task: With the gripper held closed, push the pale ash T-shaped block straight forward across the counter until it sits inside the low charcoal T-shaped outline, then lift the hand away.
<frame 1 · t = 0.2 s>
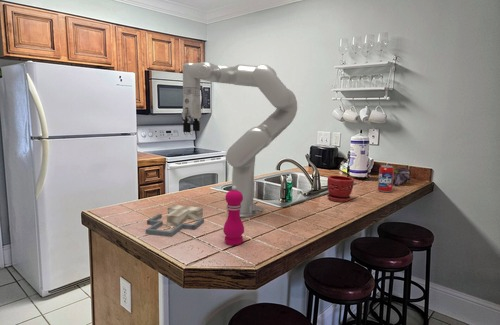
hand: (191, 131, 147), 36 cm above the countertop, tool pointing down, fingers open, 9 cm apart
pepper mill: (233, 242, 115), on the countertop
plant pot: (339, 200, 173), on the countertop
soda can: (384, 191, 193), on the countertop
t block: (185, 216, 141), on the countertop
dock: (170, 226, 128), on the countertop
decorative flower: (397, 184, 213), on the countertop
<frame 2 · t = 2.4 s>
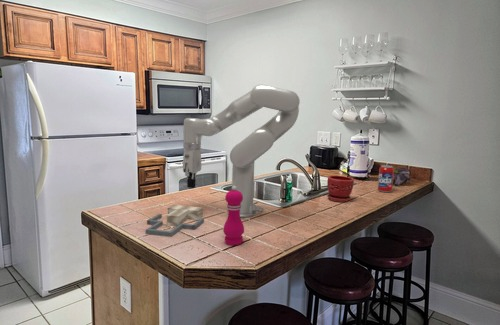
hand: (191, 187, 147), 11 cm above the countertop, tool pointing down, fingers closed
nothing on the countertop moved.
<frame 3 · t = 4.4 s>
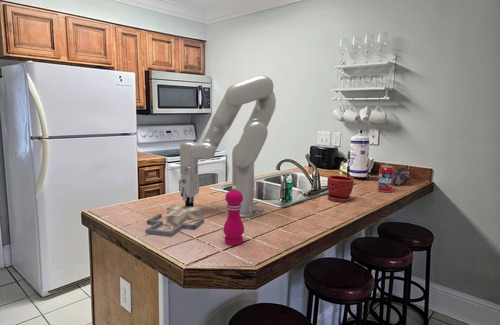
hand: (189, 211, 145), 1 cm above the countertop, tool pointing down, fingers closed
t block: (185, 216, 140), on the countertop, touching gripper
everything else where it was.
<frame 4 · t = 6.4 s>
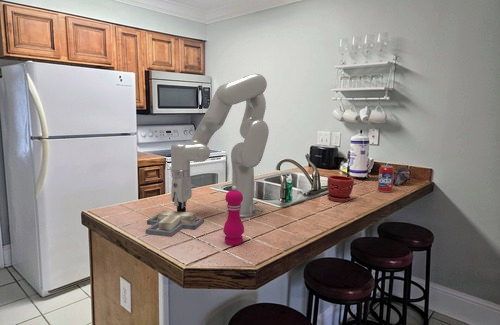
hand: (181, 216, 137), 1 cm above the countertop, tool pointing down, fingers closed
t block: (177, 223, 133), on the countertop, touching gripper
everything else where it was.
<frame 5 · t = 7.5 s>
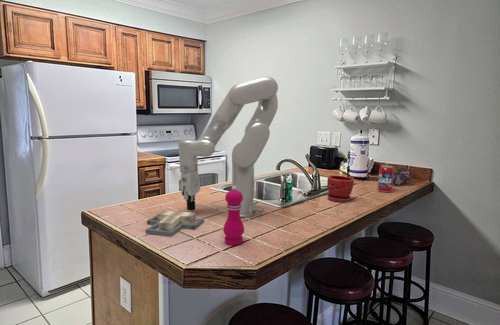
hand: (191, 209, 144), 2 cm above the countertop, tool pointing down, fingers closed
t block: (177, 223, 133), on the countertop
everything else where it was.
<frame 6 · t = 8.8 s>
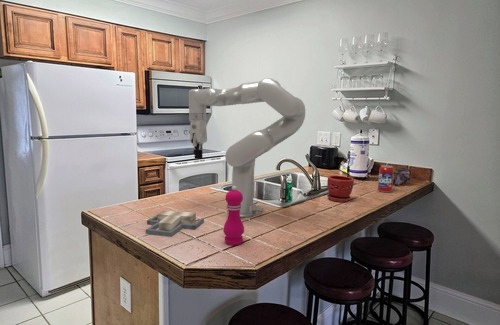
hand: (198, 158, 149), 24 cm above the countertop, tool pointing down, fingers closed
nothing on the countertop moved.
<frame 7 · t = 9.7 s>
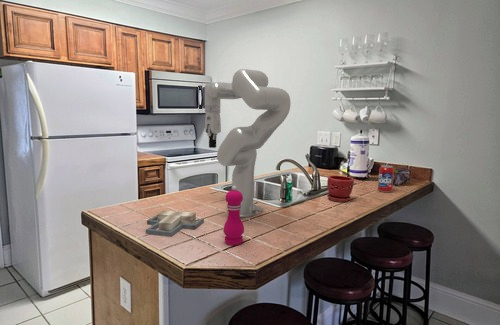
hand: (212, 147, 162), 27 cm above the countertop, tool pointing down, fingers closed
nothing on the countertop moved.
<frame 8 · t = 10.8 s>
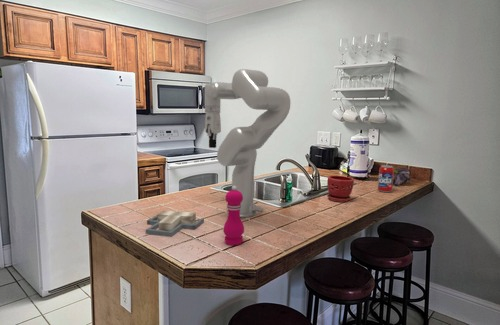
hand: (212, 147, 162), 27 cm above the countertop, tool pointing down, fingers closed
nothing on the countertop moved.
at the end: t block 1.0 cm from the target spot on the dock, point 0.0 cm above the dock's base; t block tilted 0°; t block moved 8.2 cm from its start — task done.
